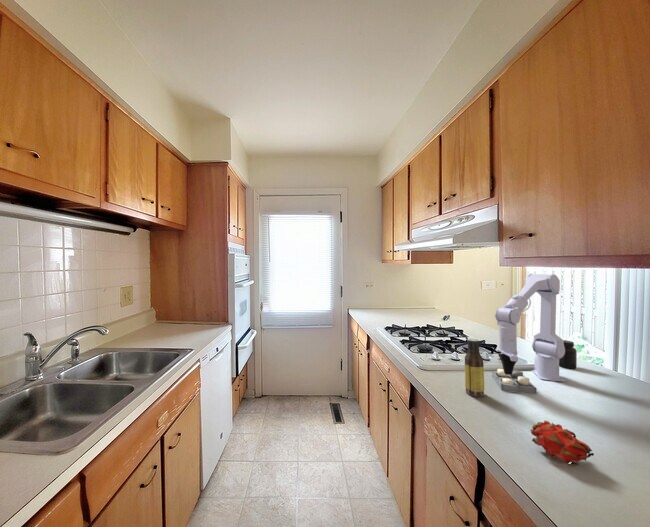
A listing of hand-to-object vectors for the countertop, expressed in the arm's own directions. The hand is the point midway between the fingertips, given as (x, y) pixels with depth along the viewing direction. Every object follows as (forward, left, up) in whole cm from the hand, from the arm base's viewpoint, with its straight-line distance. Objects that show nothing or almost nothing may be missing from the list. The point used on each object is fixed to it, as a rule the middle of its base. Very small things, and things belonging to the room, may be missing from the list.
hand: (507, 373), depth 106 cm
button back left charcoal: (-6, +5, -3) cm, 9 cm away
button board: (-3, +2, -5) cm, 7 cm away
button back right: (-6, 0, -3) cm, 7 cm away
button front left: (0, +5, -3) cm, 6 cm away
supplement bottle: (-34, +33, -6) cm, 48 cm away
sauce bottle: (+9, -14, -6) cm, 17 cm away
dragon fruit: (+40, -1, -6) cm, 41 cm away
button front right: (0, 0, -4) cm, 4 cm away
